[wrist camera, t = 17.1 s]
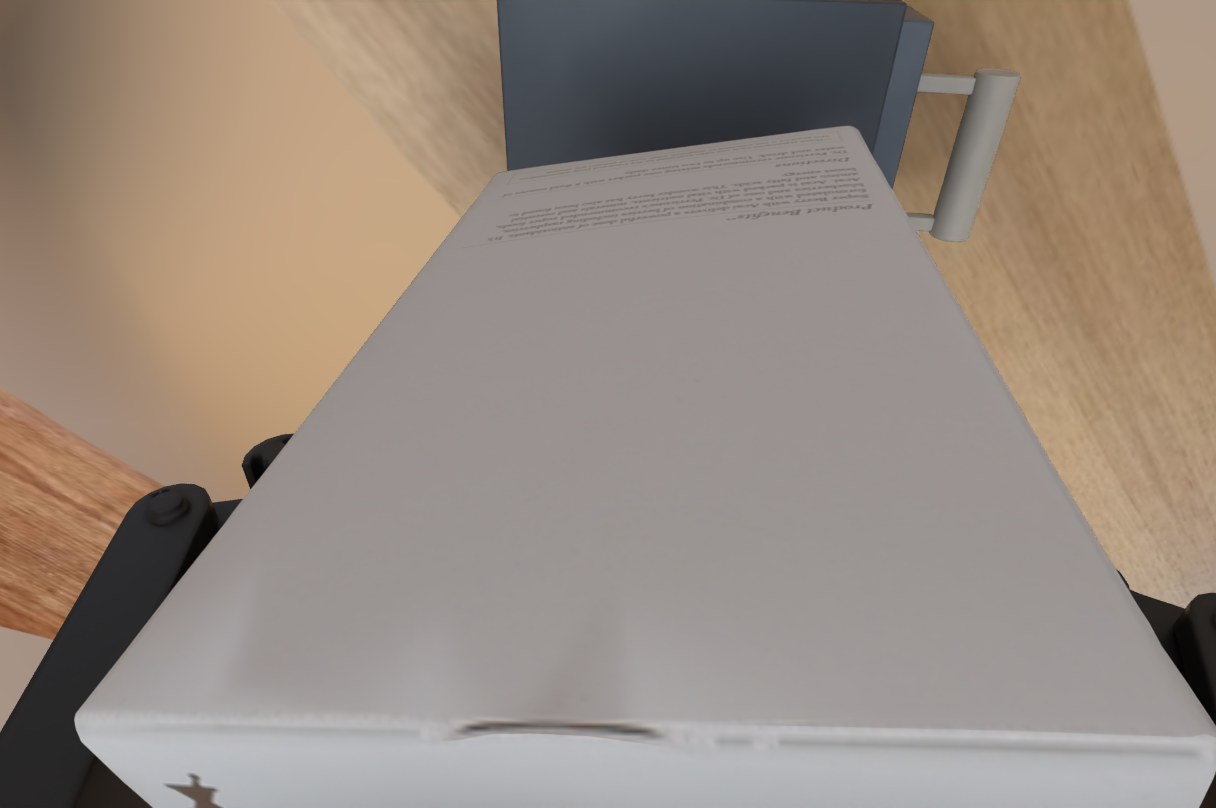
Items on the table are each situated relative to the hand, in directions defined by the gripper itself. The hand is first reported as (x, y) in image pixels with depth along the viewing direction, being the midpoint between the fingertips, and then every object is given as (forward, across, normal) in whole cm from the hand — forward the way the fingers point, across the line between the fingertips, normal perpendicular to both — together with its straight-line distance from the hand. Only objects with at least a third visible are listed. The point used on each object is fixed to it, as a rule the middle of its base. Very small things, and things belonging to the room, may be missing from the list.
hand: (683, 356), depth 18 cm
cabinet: (+22, -1, +1) cm, 22 cm away
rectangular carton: (+3, 0, 0) cm, 3 cm away
